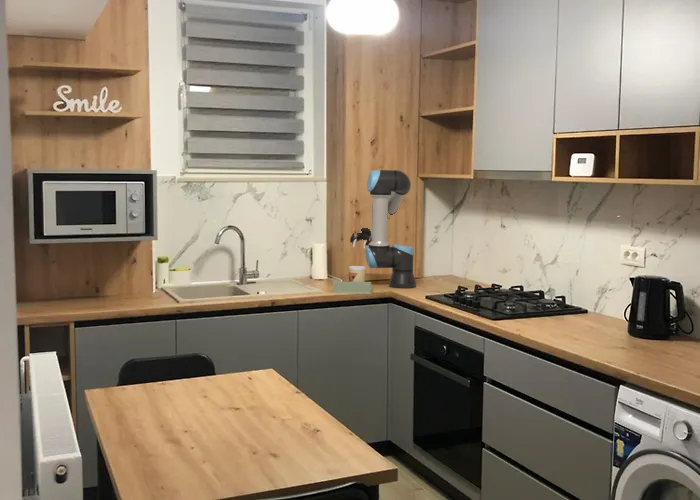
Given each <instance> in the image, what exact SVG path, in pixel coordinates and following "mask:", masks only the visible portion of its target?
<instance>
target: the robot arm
mask: <svg viewBox="0 0 700 500" xmlns="http://www.w3.org/2000/svg"><path fill="white" fill-rule="evenodd" d="M411 184H412V182H411V179H410V177H409V175H407V173H405V172H404V171H401V170H397V169H395V170H393V169H391V170H390V169H375V170H374V169H373V170H371V171H370V172H369V173H368V175H367V181H366V190H367V192H369V195H370V197H371V198H372V202H373V204H372V234H371V231H370V229H368V228H362V229H361V231H362V233H354V232H352V233H353V234H352V233H351V237H350V239H349V241H350V243H352V247H353V248H355V247H356V245H357V242H359V241H362V239H363V240H365V241H363V249H364V250H365V251H364V253H365V254H364V255H365V260H366V264H367V266H368V268H370V269H392V272H391V275H390V279H389V281H388V287H390V288H397V289H413V288H416V287H417V281H416V279H415V278H416V277H415V275H414V254H415V253H414V248H413V247H412V246H409V245H403V244H395V243H393V244H392V245H391V246H390V242H388V221H389V220H388V219H389V218H388V213H389V214H390V215H393V214H395V213H396V212H397V210H398V208H399V209H400V206H401V203H402V202H403V200H404V197H405V196H406V195H407V194H408V193H409V192H410V189H411V186H412V185H411ZM355 234H356V235H355Z"/></svg>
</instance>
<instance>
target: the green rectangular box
mask: <svg viewBox="0 0 700 500" xmlns="http://www.w3.org/2000/svg"><path fill="white" fill-rule="evenodd" d="M373 291H374V288H373V287H372V281H365V282H349V280H348V281H347V280H346V281H344V280H343V281H339V280H333V281H332V294H360V295H362V294H363V295H364V294H368V295H369V294H370V295H371V294H372V293H373Z"/></svg>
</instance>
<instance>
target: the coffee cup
mask: <svg viewBox="0 0 700 500" xmlns="http://www.w3.org/2000/svg"><path fill="white" fill-rule="evenodd" d="M366 272H367V268H366V266H363V265H351V266H348V281H349V282H366Z"/></svg>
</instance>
